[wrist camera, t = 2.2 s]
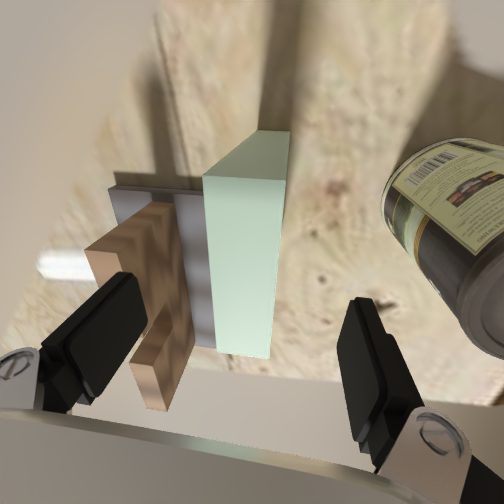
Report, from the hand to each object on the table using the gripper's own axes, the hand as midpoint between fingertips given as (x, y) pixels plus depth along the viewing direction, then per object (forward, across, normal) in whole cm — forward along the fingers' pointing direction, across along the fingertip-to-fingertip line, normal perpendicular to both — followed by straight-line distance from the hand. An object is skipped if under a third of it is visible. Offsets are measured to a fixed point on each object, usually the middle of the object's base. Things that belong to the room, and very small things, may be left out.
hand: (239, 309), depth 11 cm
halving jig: (+17, +11, +12) cm, 24 cm away
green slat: (+17, 0, -1) cm, 17 cm away
